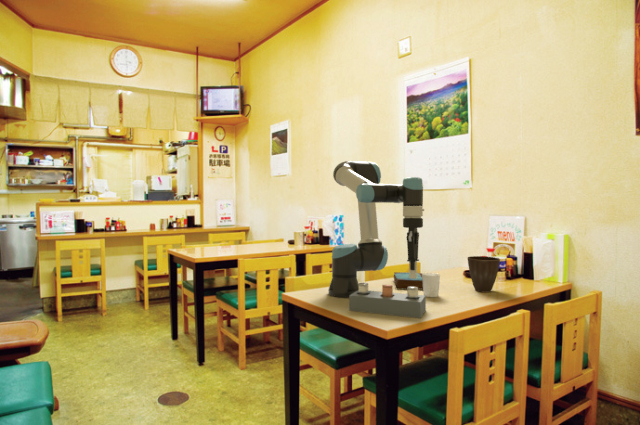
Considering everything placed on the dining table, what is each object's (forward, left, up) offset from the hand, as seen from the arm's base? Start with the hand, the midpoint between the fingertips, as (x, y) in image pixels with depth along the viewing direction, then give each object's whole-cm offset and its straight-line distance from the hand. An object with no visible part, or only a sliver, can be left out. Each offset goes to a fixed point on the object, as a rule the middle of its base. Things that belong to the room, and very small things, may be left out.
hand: (413, 278), depth 156 cm
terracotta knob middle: (-10, 0, -9) cm, 14 cm away
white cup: (+2, +34, -14) cm, 37 cm away
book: (-11, +57, -14) cm, 60 cm away
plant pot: (+24, +56, -14) cm, 63 cm away
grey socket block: (-10, 0, -14) cm, 17 cm away
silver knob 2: (0, 0, -9) cm, 9 cm away
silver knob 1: (-20, 0, -9) cm, 22 cm away
